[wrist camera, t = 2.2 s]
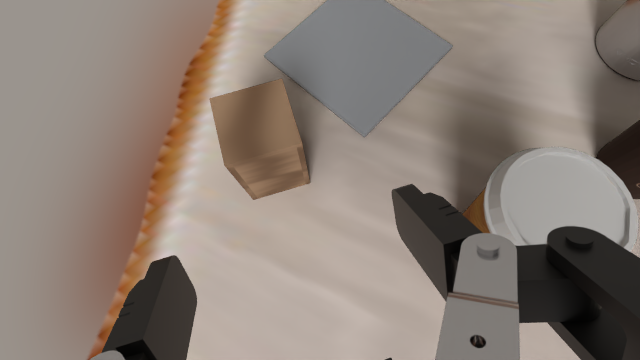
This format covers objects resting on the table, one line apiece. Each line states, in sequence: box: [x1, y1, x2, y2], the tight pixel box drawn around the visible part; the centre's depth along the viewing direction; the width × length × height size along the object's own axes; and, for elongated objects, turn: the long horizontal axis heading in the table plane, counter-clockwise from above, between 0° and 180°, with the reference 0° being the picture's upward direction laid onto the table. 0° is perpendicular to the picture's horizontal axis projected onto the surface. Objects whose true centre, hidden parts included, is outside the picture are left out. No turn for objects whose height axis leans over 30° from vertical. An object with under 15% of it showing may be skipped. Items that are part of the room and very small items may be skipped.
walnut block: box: [210, 79, 310, 200], centre depth 32 cm, size 6×6×10 cm
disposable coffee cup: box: [462, 147, 639, 252], centre depth 28 cm, size 10×10×12 cm
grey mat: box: [264, 0, 453, 137], centre depth 41 cm, size 16×16×1 cm
